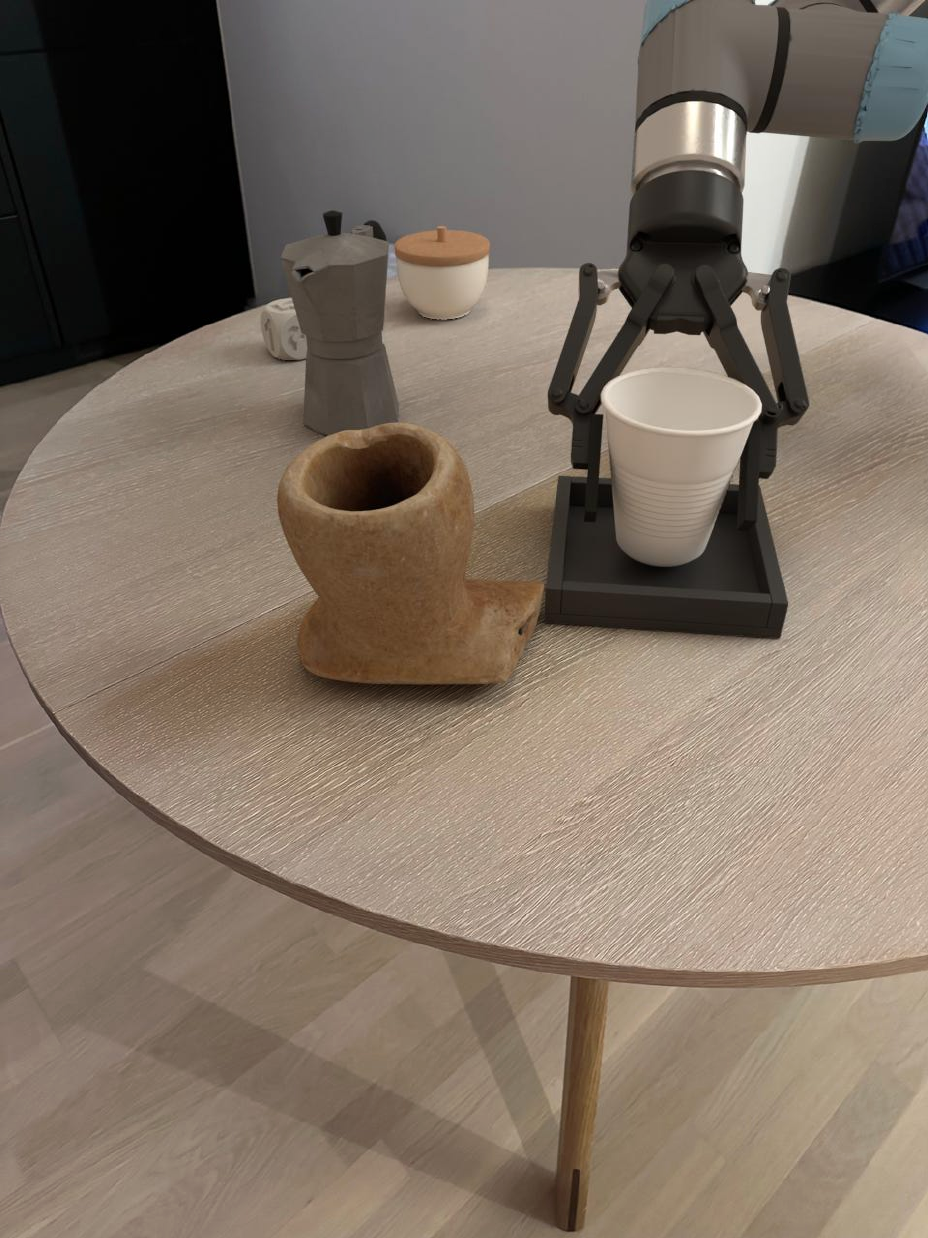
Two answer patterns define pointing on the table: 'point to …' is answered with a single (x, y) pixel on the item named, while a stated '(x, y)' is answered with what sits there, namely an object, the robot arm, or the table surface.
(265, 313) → the die
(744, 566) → the tray
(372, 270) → the coffeepot
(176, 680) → the table surface
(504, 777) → the table surface
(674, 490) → the cup
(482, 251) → the trinket box
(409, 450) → the stone cup
